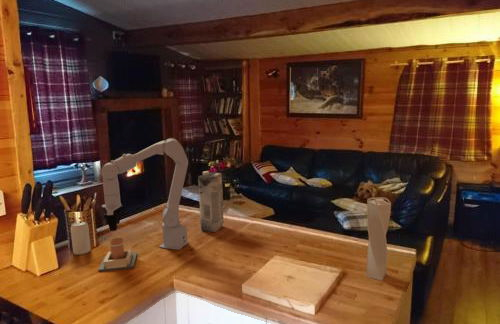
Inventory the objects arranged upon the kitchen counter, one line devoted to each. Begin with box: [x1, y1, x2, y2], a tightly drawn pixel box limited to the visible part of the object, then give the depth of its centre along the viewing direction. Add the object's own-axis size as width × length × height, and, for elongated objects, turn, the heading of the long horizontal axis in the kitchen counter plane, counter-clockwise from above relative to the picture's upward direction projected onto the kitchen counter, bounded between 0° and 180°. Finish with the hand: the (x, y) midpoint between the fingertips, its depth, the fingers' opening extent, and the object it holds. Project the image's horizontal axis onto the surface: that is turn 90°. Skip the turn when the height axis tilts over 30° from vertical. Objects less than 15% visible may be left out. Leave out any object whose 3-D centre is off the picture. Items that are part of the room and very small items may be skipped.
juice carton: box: [197, 170, 224, 233], centre depth 168 cm, size 9×10×27 cm
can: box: [70, 220, 91, 256], centre depth 147 cm, size 6×6×12 cm
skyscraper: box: [365, 196, 392, 282], centre depth 120 cm, size 8×8×28 cm
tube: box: [109, 237, 125, 260], centre depth 137 cm, size 4×4×8 cm
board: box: [98, 249, 138, 272], centre depth 137 cm, size 12×12×3 cm
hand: (115, 227), depth 145 cm, fingers open, 7 cm apart
